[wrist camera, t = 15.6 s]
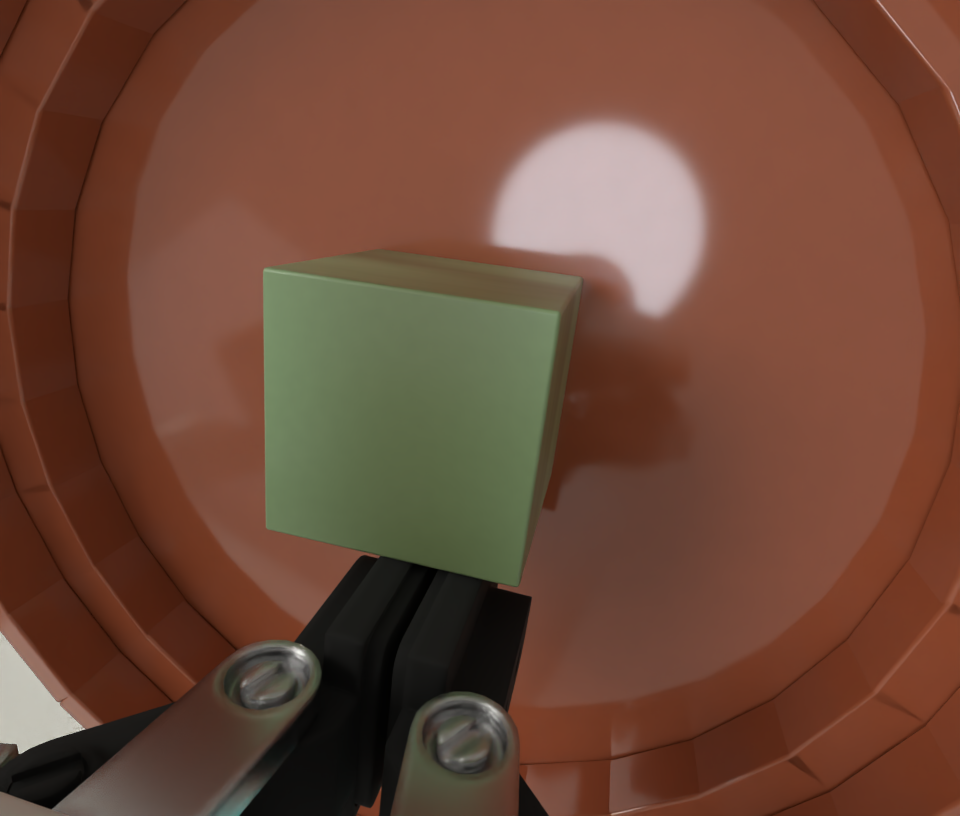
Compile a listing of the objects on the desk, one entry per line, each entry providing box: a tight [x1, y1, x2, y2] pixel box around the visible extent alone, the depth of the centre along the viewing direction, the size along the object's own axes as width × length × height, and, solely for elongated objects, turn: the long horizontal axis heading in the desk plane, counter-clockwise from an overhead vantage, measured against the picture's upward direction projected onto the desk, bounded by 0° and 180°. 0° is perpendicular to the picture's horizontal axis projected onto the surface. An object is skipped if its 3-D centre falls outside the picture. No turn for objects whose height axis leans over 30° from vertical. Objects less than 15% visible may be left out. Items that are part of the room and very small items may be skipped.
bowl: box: [0, 0, 960, 816], centre depth 11 cm, size 21×21×4 cm
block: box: [263, 249, 583, 587], centre depth 10 cm, size 4×4×4 cm
